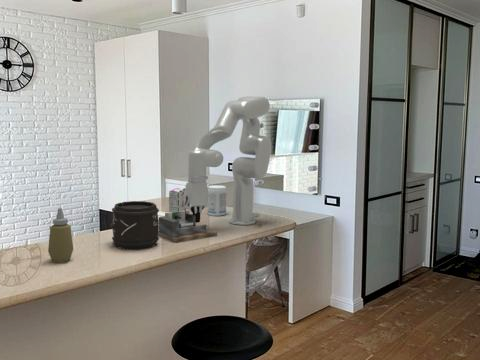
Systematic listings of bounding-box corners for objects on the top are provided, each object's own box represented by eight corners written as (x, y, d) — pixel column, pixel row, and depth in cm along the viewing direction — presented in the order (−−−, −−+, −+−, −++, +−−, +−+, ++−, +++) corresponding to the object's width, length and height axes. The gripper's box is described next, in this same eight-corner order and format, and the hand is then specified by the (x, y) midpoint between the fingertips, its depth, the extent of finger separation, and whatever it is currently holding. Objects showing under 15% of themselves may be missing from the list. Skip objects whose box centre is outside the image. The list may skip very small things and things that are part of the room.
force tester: (195, 228, 213) (195, 208, 212) (217, 235, 201) (217, 214, 199) (154, 234, 199) (154, 213, 198) (174, 242, 187) (175, 220, 186)
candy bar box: (176, 221, 226) (176, 187, 224) (186, 222, 225) (186, 188, 223) (168, 226, 216) (168, 190, 213) (178, 227, 215) (179, 191, 212)
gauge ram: (183, 227, 206) (183, 211, 205) (195, 231, 199) (195, 215, 198) (169, 229, 201) (169, 213, 201) (180, 233, 195) (181, 217, 194)
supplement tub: (224, 212, 251) (224, 185, 249) (227, 216, 242) (228, 187, 240) (206, 212, 249) (206, 185, 247) (208, 216, 239) (209, 187, 238)
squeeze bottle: (52, 256, 164) (51, 206, 162) (76, 256, 165) (75, 206, 163) (45, 263, 156) (43, 210, 154) (70, 264, 157) (69, 210, 155)
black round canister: (107, 240, 188) (107, 201, 186) (152, 237, 195) (152, 199, 193) (113, 252, 172) (113, 210, 170) (162, 248, 179) (162, 207, 177)
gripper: (206, 177, 208) (205, 218, 210) (177, 179, 198) (176, 222, 201) (216, 179, 202) (215, 221, 205) (187, 181, 193) (186, 225, 195)
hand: (196, 221), depth 203 cm, fingers closed
